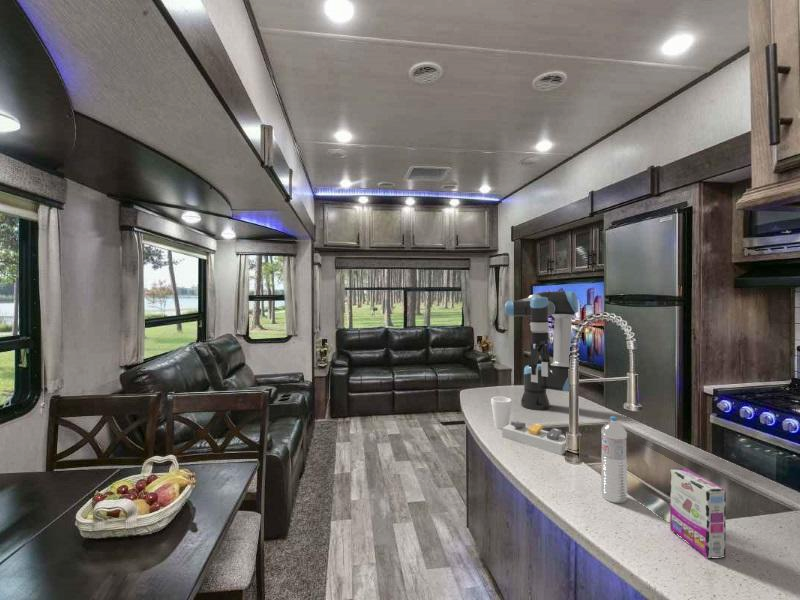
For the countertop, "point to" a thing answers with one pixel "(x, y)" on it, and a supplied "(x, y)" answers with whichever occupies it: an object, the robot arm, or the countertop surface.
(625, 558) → the countertop surface
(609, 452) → the water bottle
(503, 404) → the foam cup
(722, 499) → the candy bar box
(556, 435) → the rocker
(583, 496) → the countertop surface
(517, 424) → the rocker
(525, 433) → the grey tray
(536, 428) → the yellow sponge
